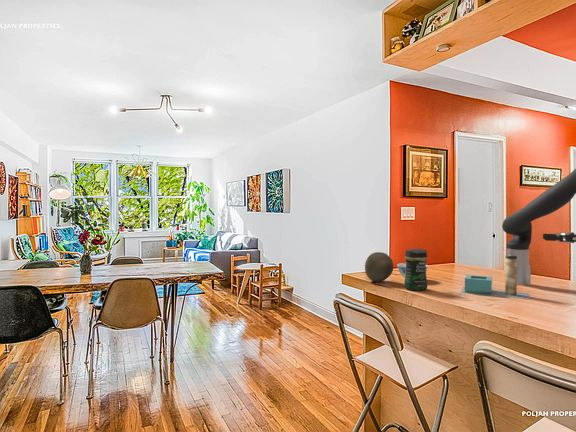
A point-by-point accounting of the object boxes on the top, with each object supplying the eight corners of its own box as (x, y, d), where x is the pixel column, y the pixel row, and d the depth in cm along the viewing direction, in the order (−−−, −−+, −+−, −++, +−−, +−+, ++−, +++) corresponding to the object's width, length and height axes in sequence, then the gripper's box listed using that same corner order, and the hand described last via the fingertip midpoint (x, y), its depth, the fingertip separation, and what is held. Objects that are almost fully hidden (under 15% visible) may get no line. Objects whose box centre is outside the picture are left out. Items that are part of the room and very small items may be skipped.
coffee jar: (411, 291, 166) (411, 250, 165) (401, 288, 173) (401, 248, 173) (430, 290, 168) (430, 249, 168) (420, 286, 176) (420, 247, 175)
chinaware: (402, 276, 203) (402, 262, 203) (431, 279, 194) (431, 264, 194) (393, 280, 191) (393, 265, 191) (422, 283, 182) (422, 268, 182)
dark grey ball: (363, 283, 183) (363, 253, 183) (366, 278, 197) (366, 250, 197) (393, 285, 179) (393, 254, 179) (393, 280, 193) (393, 251, 192)
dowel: (510, 293, 157) (511, 255, 157) (519, 295, 153) (519, 256, 153) (503, 293, 156) (503, 255, 156) (511, 295, 152) (511, 256, 152)
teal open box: (492, 290, 162) (492, 276, 162) (491, 294, 154) (491, 280, 154) (466, 287, 167) (466, 274, 167) (464, 292, 159) (464, 278, 159)
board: (528, 295, 157) (528, 292, 157) (530, 302, 146) (530, 299, 146) (463, 289, 170) (463, 287, 170) (460, 295, 158) (460, 292, 158)
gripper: (592, 227, 146) (542, 227, 154) (599, 228, 134) (545, 228, 142) (592, 246, 146) (542, 245, 154) (599, 249, 134) (545, 247, 142)
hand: (543, 237), depth 148 cm, fingers open, 8 cm apart
